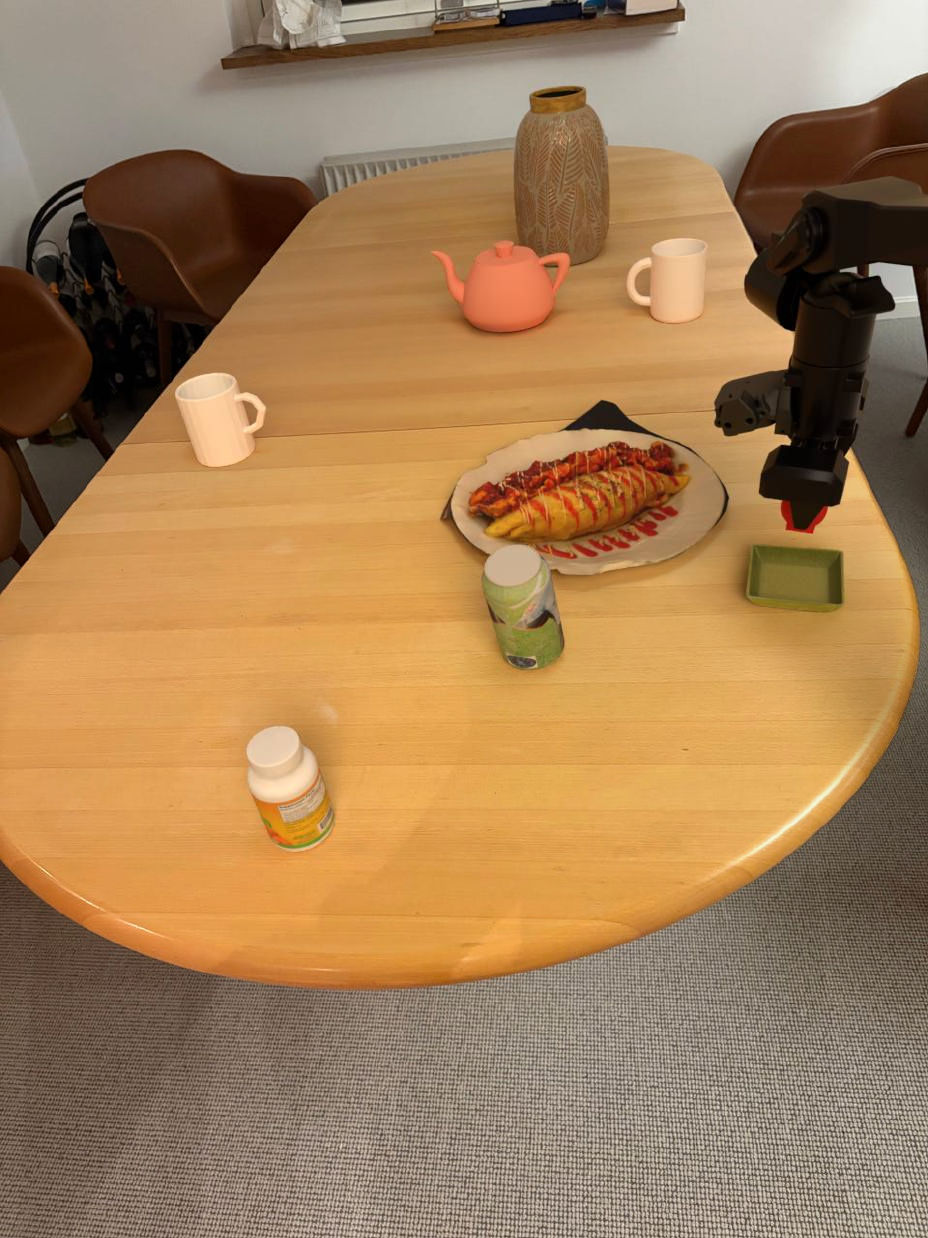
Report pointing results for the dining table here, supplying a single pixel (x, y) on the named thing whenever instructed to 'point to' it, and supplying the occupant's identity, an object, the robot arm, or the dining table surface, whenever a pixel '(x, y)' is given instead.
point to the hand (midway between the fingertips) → (803, 515)
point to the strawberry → (788, 518)
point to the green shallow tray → (796, 578)
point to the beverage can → (523, 607)
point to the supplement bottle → (288, 789)
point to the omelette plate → (590, 496)
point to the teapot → (506, 287)
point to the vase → (561, 176)
